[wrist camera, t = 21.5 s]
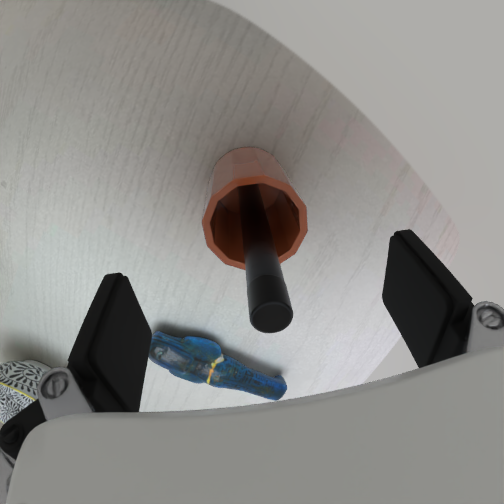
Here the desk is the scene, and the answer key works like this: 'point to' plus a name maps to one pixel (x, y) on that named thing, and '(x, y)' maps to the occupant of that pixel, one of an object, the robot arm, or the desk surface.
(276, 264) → the stylus
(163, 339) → the figurine
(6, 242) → the desk surface
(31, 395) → the bowl
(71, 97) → the desk surface
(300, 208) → the pen pot
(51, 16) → the desk surface
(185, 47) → the desk surface
